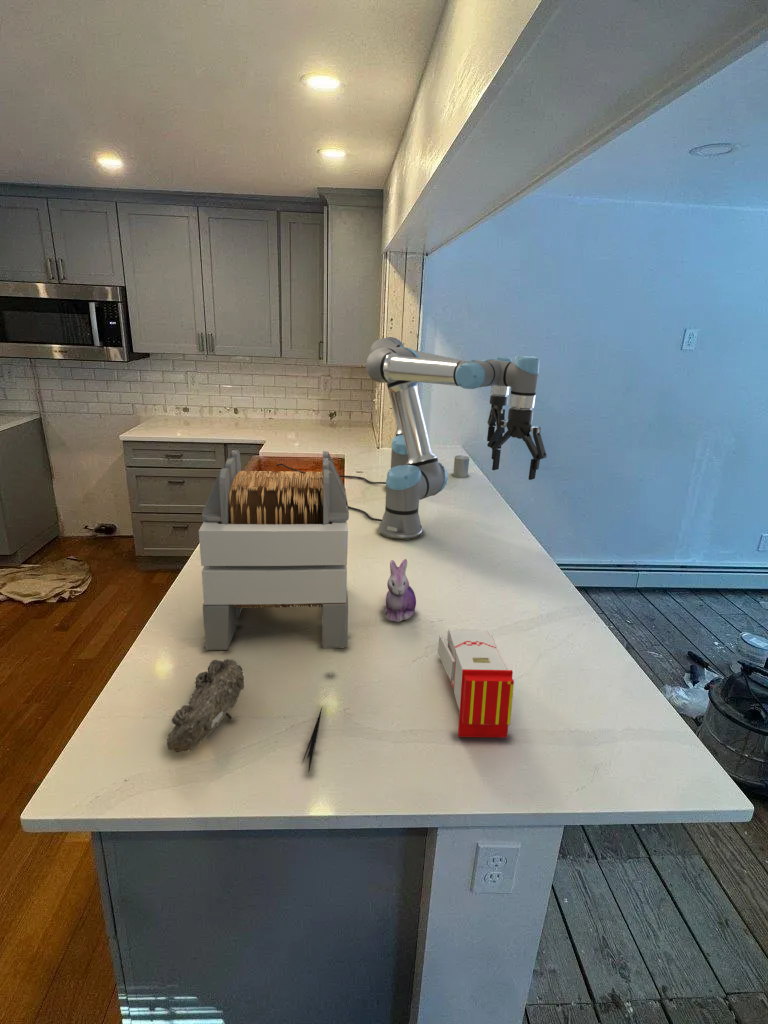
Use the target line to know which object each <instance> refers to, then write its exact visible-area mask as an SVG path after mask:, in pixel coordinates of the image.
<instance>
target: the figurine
mask: <svg viewBox="0 0 768 1024" xmlns="http://www.w3.org/2000/svg"><path fill="white" fill-rule="evenodd" d="M407 567H408V559H406V558H404V559H403V560H402V561H401V563H400V565H399V566H398V565H397V563H396V562H395V561H394V560H393V559H391V560H390V561H389V570H390V576H389V578H388V579H387V589H388V591H387V592H386V594H385V595H386V596H385V607H384V615H385V616H386V620H387V621H391V622H395V623H400V622H402V621H406V620H409V619H410V618H411V617H413V616H414V615H415V610H416V606H417V597H416V593H415V591H414V590H413V587H411V586H410V582H409V579H408V577H407V574H406V571H407Z"/></svg>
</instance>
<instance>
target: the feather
mask: <svg viewBox="0 0 768 1024" xmlns="http://www.w3.org/2000/svg"><path fill="white" fill-rule="evenodd" d="M329 675H330V676H331V675H332V674H331V673H330V674H329ZM322 710H323V707H321V708H320V710H319V713H318V716H317V719H316V723H315V725H314V728H313V731H312V733H311V737H310V739H309V742H308V745H307V748H306V751H305V754H304V757H303V760H302V763H301V767H302V765H303V763H304V761H305V758H308V759H309V760H308V762H307V763H308V764H307V766H308V771H310V770H311V766H312V765H311V764H312V760H313V757H315V756H314V755H315V751H316V749H315V746H317V739H318V733H319V729H320V722H321V717H322V712H323V711H322ZM313 754H314V755H313ZM306 755H307V757H306Z"/></svg>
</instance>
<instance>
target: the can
mask: <svg viewBox="0 0 768 1024" xmlns="http://www.w3.org/2000/svg"><path fill="white" fill-rule="evenodd" d="M469 466H470V456H466V455H463V454H462V455H455V456H454V460H453V471H452V472H453V473H452V474H453V475H452V476H453V477H455V478H468V476H469Z"/></svg>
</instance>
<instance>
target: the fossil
mask: <svg viewBox="0 0 768 1024" xmlns="http://www.w3.org/2000/svg"><path fill="white" fill-rule="evenodd" d="M243 670H244V669H243V667H242V665H240V664H237V662H236V661H235V660H234V659H232V658H231V659H227V658H226V659H224V660H223V661H222V660H217V659H212V660H211V661H210V663H209V665H208V666H207V671H201V672H199V673H198V674H197V675H196V676H195V680H194V684H195V685H194V687H195V689H194V690H193V693H192V694H191V697H190V698H189V700H188V704H184V705H182V706H181V707H180V709H177V710H176V711H175V713H174V715H173V716H172V718H171V723H172V724H173V727H172V730H171V731H170V732H168V734H167V738H166V741H167V742H166V745H167V749H168V750H169V751H173V752H174V753H176V754H178V753H182V752H188V751H189V752H192V751H193V750H195V748H196V747H197V746H199V744H200V743H201V742H203V741H204V740H205V739H206V738H207V737H208V736H209V735H210V734H211V733H212V732H214V730H215V729H217V727H218V726H219V724H220V722H221V721H222V720H223V719H224V718H225V716H226V717H227V719H229V720H233V717H232V715H230V714H229V710H230V709H231V708H234V706H235V704H236V703H237V702H238V699H239V697H240V695H241V693H242V691H243V690H245V689H244V688H245V675H244V671H243Z"/></svg>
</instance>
